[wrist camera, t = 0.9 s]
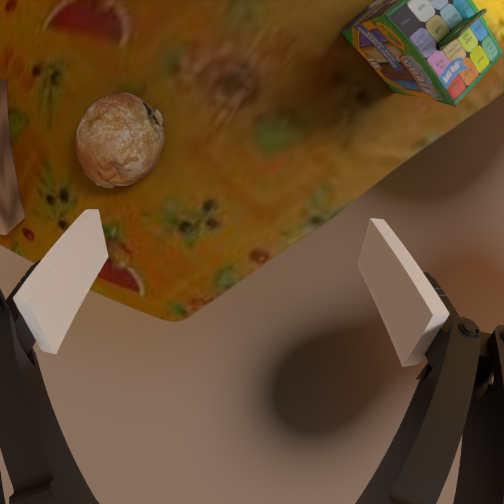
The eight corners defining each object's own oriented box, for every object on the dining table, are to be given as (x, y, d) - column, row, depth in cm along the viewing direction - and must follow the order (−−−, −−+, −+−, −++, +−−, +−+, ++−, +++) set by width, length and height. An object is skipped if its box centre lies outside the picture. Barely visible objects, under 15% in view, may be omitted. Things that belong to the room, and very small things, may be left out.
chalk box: (393, 94, 27) (480, 121, 15) (336, 31, 23) (404, 8, 11) (440, 50, 23) (534, 61, 11) (389, -12, 20) (472, -41, 7)
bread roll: (180, 140, 34) (190, 133, 26) (120, 204, 33) (114, 214, 26) (124, 86, 29) (120, 65, 22) (64, 151, 29) (43, 147, 22)
